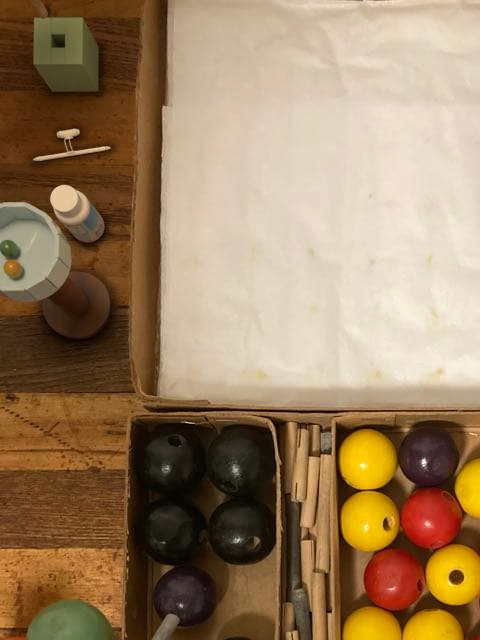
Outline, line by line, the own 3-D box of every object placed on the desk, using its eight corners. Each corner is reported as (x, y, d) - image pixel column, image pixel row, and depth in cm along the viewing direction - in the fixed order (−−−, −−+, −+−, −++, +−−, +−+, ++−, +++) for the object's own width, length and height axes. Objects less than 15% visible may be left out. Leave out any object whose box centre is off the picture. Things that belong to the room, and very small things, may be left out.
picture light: (34, 162, 152) (29, 156, 150) (31, 139, 152) (25, 133, 150) (111, 150, 152) (107, 144, 150) (107, 127, 152) (103, 121, 150)
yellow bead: (14, 263, 125) (22, 257, 127) (-3, 262, 125) (6, 256, 127) (19, 280, 127) (27, 274, 129) (3, 279, 127) (11, 273, 129)
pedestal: (44, 339, 150) (-13, 298, 129) (45, 273, 150) (-11, 221, 129) (112, 338, 150) (66, 297, 129) (112, 273, 151) (67, 221, 130)
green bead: (15, 246, 129) (-2, 250, 128) (12, 234, 127) (-5, 238, 126) (22, 259, 129) (4, 263, 128) (19, 247, 126) (1, 251, 125)
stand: (51, 91, 153) (33, 64, 145) (52, 47, 153) (33, 17, 145) (98, 91, 153) (82, 64, 145) (98, 47, 153) (82, 17, 145)
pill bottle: (92, 204, 151) (68, 173, 140) (112, 231, 151) (89, 201, 140) (64, 223, 151) (38, 193, 140) (84, 250, 151) (59, 222, 140)
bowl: (-17, 302, 129) (-34, 290, 124) (-16, 217, 130) (-32, 202, 125) (71, 301, 129) (58, 290, 124) (72, 216, 130) (59, 201, 125)
